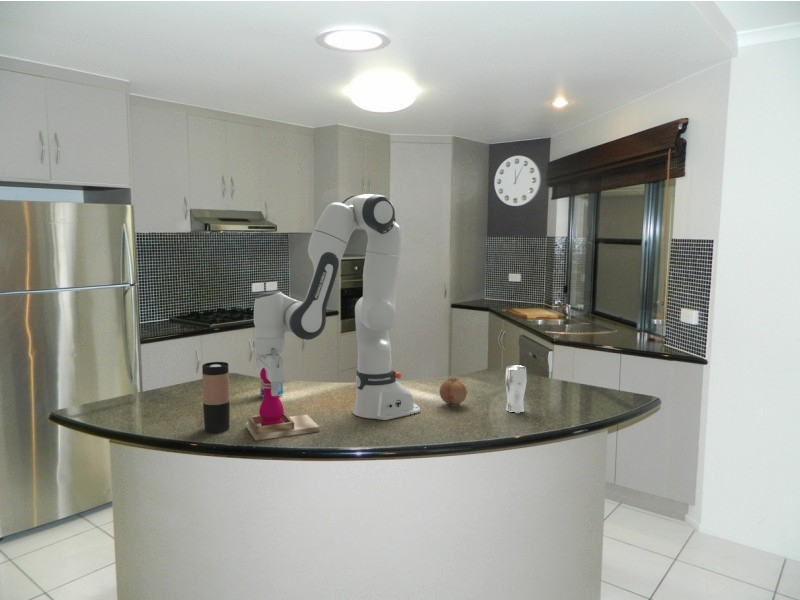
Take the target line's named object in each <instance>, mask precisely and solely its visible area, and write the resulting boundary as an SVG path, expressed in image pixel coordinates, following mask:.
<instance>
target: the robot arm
mask: <svg viewBox="0 0 800 600" xmlns="http://www.w3.org/2000/svg"><path fill="white" fill-rule="evenodd" d="M316 222H317V223H316V224H315V226H314V229H313V230H312V233H311V236H310V238H309V242H308V245H307V247H308V248H307V254H308V257H309V259H310V261H311V263H312V266H313V274H312V278H311V280H310V284H309V287H308V289H307V293H306V295H305V298H304V300H303V301H301V300H297V299H294V298H292V297H289V296H288V295H286V294H284V293H283V292H282V291H280V290H269V291H265V292H261V293H260V294H258V295H257V296H256V297H255V300H254V304H253V324H254V334H253V342H252V346H253V349H254V353H255V362H256V363H255V364H256V368H257V371H258V372H259V373H260V372H261V370H262V369H263V368H265V371H266V378H267V379H268V380H269V381H270V382H271V395H272V396H277V395H278V388H279V383H284V382H285V363H284V358H283V356H282V353H285V352H286V345H285V344H286V337H285V334H286V333H288V332H289V333H293V334H294V335H295V336H296V337H297V338H299V339H301V340H303V341H305V340H307V341H309V340H314V339H315V338H317V337H318V336H320V335H321V334H322V333H323V331H324V330H325V327H326V324H327V323H326V322H327V305H328V303H329V299H330V296H331V293H332V290H333V287H334V284H335V282H336V277H337V274H338V271H339V267H340V264H341V261H342V258H343V255H344V254H345V251H346V249H347V246H348V243H349V241H350V238H351V235H352V234H353V232H354V231H355V230H356V229H357V230H363V231H364V230H365V232H366V235H367V244H366V252H365V258H364V264H363V270H362V271H363V272H362V296H361V297H360V298H359V299H358V300H357V301H356V303H355V306H354V317H355V320H354V321H355V333H356V343H357V370H356V374H355V375H356V377H355V383H356V384H355V385H356V395H355V396H356V397H355V401H354V407H353V410H352V413H353V414H354V416H357V417H360V418H365V419H373V420H374V419H375V420H380V421H381V420H382V421H387V420H388V421H389V420H391V419H396V418H397V419H398V418H400V417H406V416H409V415H410V414H411V415H414V413H415V414H418V412H419V413H420V412H421V407H420V406H419V405H417V403H415V402H414V398H413V394H412V392H411V391H410V390H409V389H407V387H405V386H404V385H402V384H401V383H400V382H399V381H397V379H399V380H400V379H401V378H402V377H403V374H402V372H399V371H395V370H392V344H391V341H390V334H389V333H390V331H389V330H390V329H392V327H393V326H394V325H395V323H396V320H397V309H396V307H397V280H398V279H397V278H398V270H399V263H400V257H401V256H400V255H401V246H402V245H401V244H402V231H401V228H400V225H399V224H398V223H397V222H396V211H395V207H394V204H393V202H392V200H391V199H389V198H388V197H387V196H385V195H382V194H373V193H372V194H371V193H364V194H360V195H359V194H357V195H355V194H354V195H351V196H348V197H346V198H345V199H344V200H342V202H331V203H330V204H328V205H327V206H326V207H325V208H324V210H323V212H322V213H321V214H320V216H319V218H318V220H317V221H316ZM281 356H282V357H281Z"/></svg>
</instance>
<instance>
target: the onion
mask: <svg viewBox="0 0 800 600" xmlns="http://www.w3.org/2000/svg"><path fill="white" fill-rule="evenodd" d="M467 392H468V391H467V388H466V385H465V384H464V383H463V381H460V380H459V379H458V378H457V377H454V376H453V377H451V378H448V379H446V380H444V381H443V383H442V384H441V385H440V387H439V396H440V398H441V400H442V401H443V402H444V403H445V404H447V405H448V406H452V407H453V405H454V406H457V405H459V404H460V405H461V403H462V402H464V401H465V400H466V398H467V395H468V393H467Z"/></svg>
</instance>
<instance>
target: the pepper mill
mask: <svg viewBox="0 0 800 600" xmlns="http://www.w3.org/2000/svg"><path fill="white" fill-rule="evenodd" d="M259 374H260V375H259V376H260V377H261V379H262V380H263V382H262V384H263V385H262V387H263V388H264V397H262V402H261V404H260V406H259V410H258V411H259V412H258V414H259V415H260V416H261V418H263V419H262V420H261V426H265V425H273V424H280V423H283V422H282V418H281V417H282V415H283V414H284V412H285V411H284V410H285V407H284V405H283V403H282V401H281V398H280V396H279V395H277V396H272V395H271V382H270V381H269V380H268V379H267V378H266V371H265V368H263V369H262V370H261V372H260V371H259Z"/></svg>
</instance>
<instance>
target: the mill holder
mask: <svg viewBox="0 0 800 600" xmlns="http://www.w3.org/2000/svg"><path fill="white" fill-rule="evenodd" d="M247 418H248V419H247V420H248V421H247V422H246V428H247V430H248V431H249V433H250V434H251V436H252V437H253V439H254V441H262V440H268V439H269V440H270V439H274V438H275V439H276V438H283V437H289V436H290V435H291V436H297V435H304V434H311V433H317V432H320V425H319V424H318V423H316V422H315V421H314V420H313V419H312V418H311V417H310V416H309V415H308V414H301V415H299V414H298V415H293V416H289V415H288V414H287V413H286V412H285V411H284V414H283V415H282V417H281V418H282V422H283V423H280V424H273V425H265V426H261V420H262V419H263V418H261V416H260V415H252V416H247ZM291 436H290V437H291Z"/></svg>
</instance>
